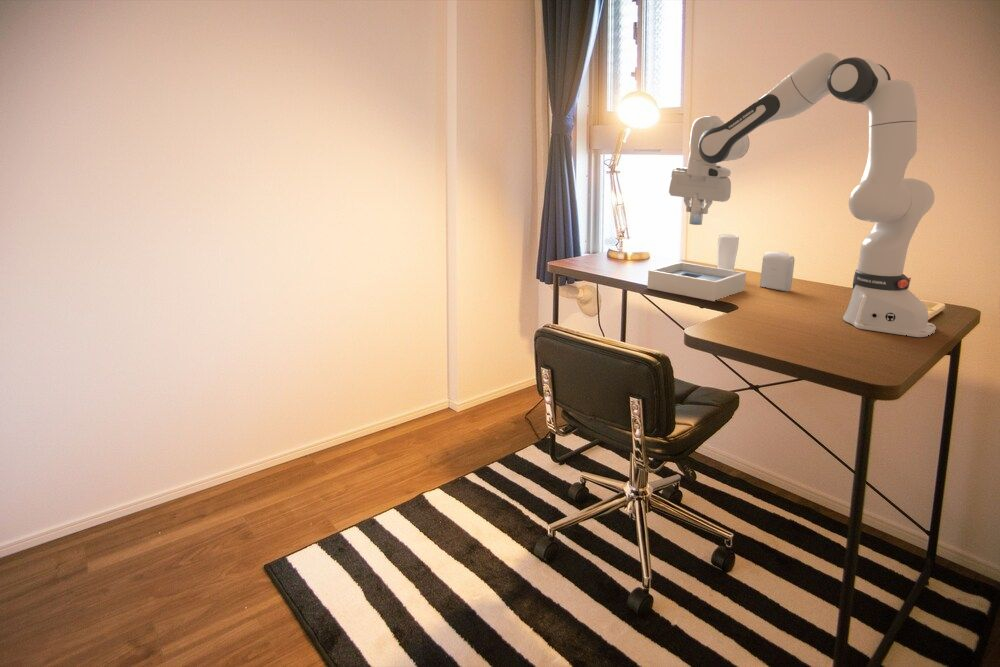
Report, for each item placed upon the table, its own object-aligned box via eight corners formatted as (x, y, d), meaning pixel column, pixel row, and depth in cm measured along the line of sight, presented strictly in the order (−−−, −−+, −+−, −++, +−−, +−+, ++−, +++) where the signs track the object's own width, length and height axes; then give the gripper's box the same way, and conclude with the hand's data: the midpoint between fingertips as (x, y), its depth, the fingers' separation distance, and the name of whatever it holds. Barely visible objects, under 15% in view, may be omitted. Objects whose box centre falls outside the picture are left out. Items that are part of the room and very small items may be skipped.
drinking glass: (710, 277, 251) (714, 234, 247) (725, 275, 254) (729, 233, 249) (723, 281, 245) (728, 237, 241) (738, 279, 248) (743, 236, 243)
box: (744, 290, 233) (746, 272, 231) (714, 301, 219) (716, 282, 217) (678, 278, 248) (680, 261, 247) (647, 288, 235) (648, 270, 233)
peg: (704, 223, 232) (707, 192, 229) (698, 225, 229) (701, 193, 226) (692, 222, 235) (696, 191, 232) (687, 223, 232) (690, 192, 229)
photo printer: (757, 286, 238) (761, 250, 234) (764, 284, 241) (768, 248, 237) (786, 292, 230) (791, 254, 227) (793, 290, 233) (798, 253, 229)
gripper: (667, 167, 231) (663, 209, 236) (725, 172, 218) (720, 217, 222) (677, 166, 236) (673, 208, 240) (735, 171, 222) (730, 215, 227)
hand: (696, 212), depth 231 cm, fingers closed on peg, 4 cm apart
